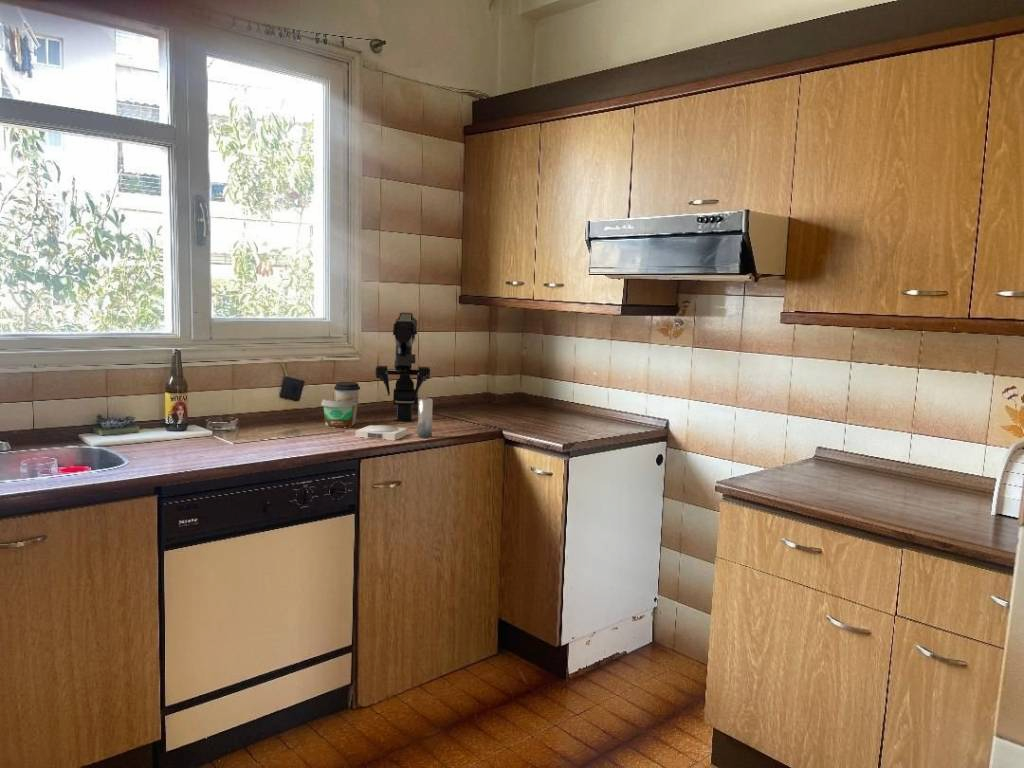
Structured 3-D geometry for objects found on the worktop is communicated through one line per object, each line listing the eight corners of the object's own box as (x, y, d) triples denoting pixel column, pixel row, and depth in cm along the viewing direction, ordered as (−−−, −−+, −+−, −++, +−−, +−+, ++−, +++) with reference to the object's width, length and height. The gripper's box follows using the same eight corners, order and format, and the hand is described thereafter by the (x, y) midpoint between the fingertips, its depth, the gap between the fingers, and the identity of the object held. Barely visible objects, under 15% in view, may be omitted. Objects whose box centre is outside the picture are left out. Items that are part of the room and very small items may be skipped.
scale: (369, 431, 261) (369, 423, 260) (407, 434, 257) (407, 426, 257) (355, 437, 250) (355, 429, 249) (393, 440, 246) (394, 432, 246)
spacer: (420, 435, 257) (421, 397, 256) (433, 436, 256) (434, 398, 254) (415, 437, 253) (416, 399, 251) (428, 438, 251) (429, 400, 250)
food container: (321, 429, 262) (321, 401, 261) (321, 426, 268) (321, 398, 266) (357, 429, 265) (357, 401, 264) (356, 425, 271) (356, 398, 270)
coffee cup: (329, 425, 271) (329, 384, 269) (341, 421, 280) (341, 381, 278) (353, 426, 269) (353, 385, 267) (364, 422, 278) (364, 382, 276)
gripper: (375, 344, 255) (373, 387, 250) (430, 345, 257) (429, 388, 252) (377, 356, 265) (375, 398, 260) (430, 357, 267) (429, 399, 262)
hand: (402, 395), depth 258 cm, fingers open, 9 cm apart
